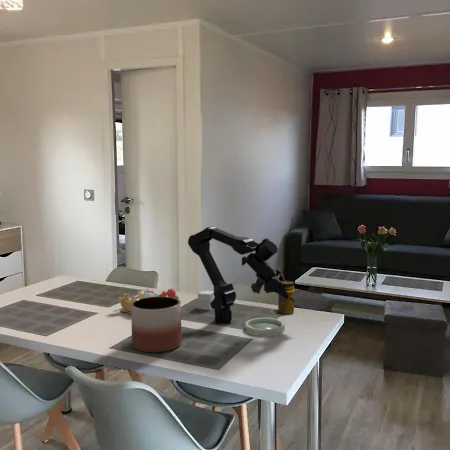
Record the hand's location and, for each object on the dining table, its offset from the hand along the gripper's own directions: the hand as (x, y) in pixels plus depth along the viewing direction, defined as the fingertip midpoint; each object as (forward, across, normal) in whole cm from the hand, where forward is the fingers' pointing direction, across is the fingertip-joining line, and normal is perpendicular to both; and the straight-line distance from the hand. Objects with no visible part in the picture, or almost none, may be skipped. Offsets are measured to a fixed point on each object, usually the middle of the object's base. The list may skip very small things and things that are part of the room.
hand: (288, 295), depth 192 cm
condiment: (+4, 0, -6) cm, 7 cm away
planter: (-22, +21, -43) cm, 52 cm away
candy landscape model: (-32, -22, -56) cm, 68 cm away
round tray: (+4, -1, -16) cm, 17 cm away
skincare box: (-15, -26, -37) cm, 48 cm away
